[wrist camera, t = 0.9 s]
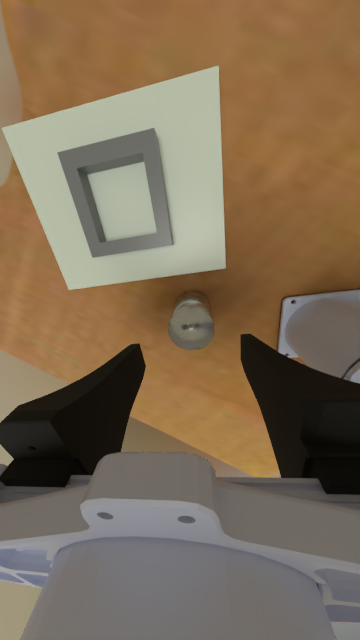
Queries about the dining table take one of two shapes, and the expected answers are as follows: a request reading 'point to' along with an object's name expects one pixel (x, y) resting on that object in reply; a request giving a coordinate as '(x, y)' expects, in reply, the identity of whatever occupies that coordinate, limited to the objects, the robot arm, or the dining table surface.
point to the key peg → (191, 321)
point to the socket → (129, 182)
